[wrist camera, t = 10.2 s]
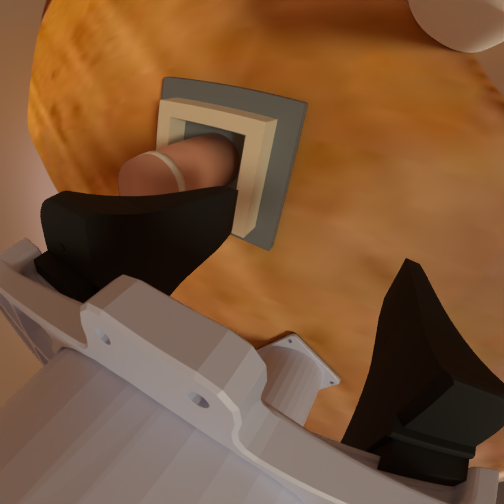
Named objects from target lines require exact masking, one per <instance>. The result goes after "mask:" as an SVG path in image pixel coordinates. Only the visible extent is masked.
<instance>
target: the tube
mask: <svg viewBox="0 0 504 504" xmlns="http://www.w3.org/2000/svg"><path fill="white" fill-rule="evenodd" d="M238 170H239V155H238V152H237V149H236V147H235V146H234V144H233V143H232V142H231V141H230V140H229V139H228V138H227V137H226V136H224V135H222V134H219V133H215V132H211V133H206V134H203V135H199V136H196V137H193V138H190V139H186V140H183V141H180V142H177V143H174V144H171V145H168V146H165V147H162V148H159V149H156V150H153V151H148V152H145V153H142V154H140V155H138V156H136V157H134V158H131V159H129V160H127V161H126V162H125V163H124V164H123V165H122V167H121V169H120V171H119V175H118V189H119V194H120V196H147V195H160V194H168V193H175V192H182V191H188V190H194V189H200V188H207V187H214V186H225V185H227V184H229V183H230V182H232V181H233V180H234V178H235V177H236V175H237V173H238Z"/></svg>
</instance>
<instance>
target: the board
mask: <svg viewBox="0 0 504 504" xmlns="http://www.w3.org/2000/svg"><path fill="white" fill-rule="evenodd" d="M307 106H308V103H306V102H302V101H299V100H295V99H291V98H287V97H283V96H279V95H275V94H270V93H266V92H262V91H257V90H252V89H247V88H242V87H237V86H231V85H226V84H220V83H214V82H207V81H200V80H193V79H185V78H177V77H164V81H163V90H162V100H160V104H159V115H158V128H157V143H156V149H159V148H162V147H165V146H168V145H171V144H174V143H177V142H180V141H183V140H186V139H190V138H193V137H196V136H199V135H203V134H206V133H211V132H215V133H219V134H222V135H224V136H226V137H227V138H228V139H229V140H230V141H231V142H232V143H233V144H234V146H235V147H236V149H237V152H238V155H239V170H238V173H237V175H236V177H235V178H234V180H233V181H232V182H230V183H229V184H227V185H225V186H228V187H231V188H233V189H236V190H239V191H238V197H237V203H236V209H235V215H234V221H233V228H232V232H231V234H230V235H233V236H235V237H237V238H240V239H242V240H245V241H247V242H249V243H252V244H254V245H256V246H259V247H261V248H263V249H266V250H268V251H269V250H270V249H271V248H272V247H273V244H274V240H275V236H276V232H277V228H278V224H279V220H280V216H281V212H282V208H283V204H284V201H285V197H286V192H287V188H288V184H289V180H290V176H291V172H292V168H293V164H294V160H295V156H296V152H297V148H298V144H299V139H300V135H301V131H302V127H303V123H304V118H305V114H306V110H307Z"/></svg>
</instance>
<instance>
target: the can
mask: <svg viewBox="0 0 504 504" xmlns="http://www.w3.org/2000/svg"><path fill="white" fill-rule="evenodd" d="M408 3H409V7H410V10H411V12H412V14H413V16H414V18H415V19H416V21H417V23H418V24H419V25H420V27H421V28H422V29H423V30H424V31H425V32H426V33H427V34H428V35H430V36H431V37H432V38H434V39H435V40H436V41H438V42H440V43H441V44H443V45H445V46H447V47H449V48H451V49H454V50H457V51H461V52H469V53H472V52H480V51H483V50H486V49H488V48H491V47H493V46H495V45H497V44H499V43H501V42H503V41H504V0H408Z"/></svg>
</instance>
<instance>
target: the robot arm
mask: <svg viewBox="0 0 504 504" xmlns="http://www.w3.org/2000/svg"><path fill="white" fill-rule="evenodd" d="M238 191H239V190H236V189H233V188H231V187H228V186H214V187H207V188H200V189H194V190H188V191H182V192H175V193H168V194H160V195H147V196H104V195H93V194H85V193H78V192H71V191H62V192H60V193H58V194H56V195H54V196H52V197H50V198H48V199H46V200H45V201H44V202H43V204H42V207H41V216H40V217H41V224H42V228H43V232H44V237H45V241H46V245H47V249H48V251H46V252H44V253H43V254H42V253H41V251H40V250H39V248H38V247H37V246H35V245H34V244H33V243H32V242H31V241H30V240H29V239H27V238H25V239H23V240H21V241H20V242H18V243H16V244H15V245H13V246H12V247H10V248H8V249H7V250H5V251H4V252H2V253H1V254H0V310H1V312H2V314H3V315H4V316H5V318H6V319H7V320H8V322H9V323H10V324H11V326H12V327H13V328H14V329H15V331H16V332H17V333H18V335H19V336H20V337H21V339H22V340H23V341H24V342H25V344H26V345H27V346H28V348H29V349H30V350H31V351H32V353H33V354H34V355H35V356H36V358H37V359H38V360H39V361H40V362H41V363H42V365H43V366H44V367H43V368H41V369H40V370H39V371H38V372H37V373H36V374H35V375H34V376H33V377H32V378H30V379H29V380H28V381H27V382H26V383H25V384H24V385H23V386H22V387H21V388H20V389H19V390H18V391H17V392H16V393H14V395H12V396H11V397H10V398H9V399H8V400H7V401H6V402H5V403H4V404H3V405H2V406H1V407H0V504H495V503H496V496H497V487H498V477H499V471H498V470H495V469H489V468H483V467H471V468H468V465H469V459H472V458H474V456H475V451H476V446H477V445H479V444H480V443H482V442H483V441H485V440H486V439H488V438H489V437H491V436H492V435H494V434H495V433H496V432H497V431H499V430H500V429H501V428H502V427H503V426H504V383H503V382H502V381H501V380H500V379H499V378H498V377H497V376H496V375H494V374H493V373H492V372H491V371H490V370H489V369H488V367H487V366H486V365H485V364H484V363H483V362H482V361H481V360H480V359H479V358H478V356H477V355H476V354H475V353H474V352H473V350H472V349H471V348H470V347H469V345H468V344H467V343H466V342H465V340H464V339H463V338H462V336H461V335H460V333H459V332H458V330H457V329H456V327H455V326H454V324H453V323H452V322H451V320H450V318H449V317H448V315H447V313H446V312H445V310H444V308H443V306H442V305H441V303H440V301H439V299H438V297H437V295H436V294H435V292H434V290H433V288H432V286H431V284H430V282H429V280H428V278H427V276H426V274H425V272H424V270H423V269H422V267H421V266H420V264H418V263H416V262H414V261H412V260H409V259H407V258H406V259H405V261H404V263H403V265H402V266H401V268H400V270H399V272H398V274H397V276H396V278H395V279H394V281H393V283H392V285H391V287H390V289H389V290H388V292H387V294H386V296H385V297H384V301H383V305H382V308H381V312H380V315H379V320H378V326H377V332H376V339H375V344H374V350H373V356H372V361H371V366H370V370H369V373H368V376H367V379H366V382H365V385H364V388H363V391H362V394H361V396H360V399H359V402H358V404H357V407H356V409H355V412H354V414H353V417H352V419H351V421H350V423H349V426H348V428H347V430H346V432H345V434H344V437H343V439H342V441H341V443H339V442H337V441H334V440H331V439H329V438H326V437H323V436H321V435H318V434H316V433H313V432H311V431H309V430H308V429H306V428H304V427H303V426H304V423H305V421H306V419H307V417H308V414H309V412H310V410H311V407H312V405H313V403H314V400H315V398H316V396H317V393H318V391H319V390H320V389H323V388H327V387H330V386H333V385H337V384H339V383H340V378H339V377H338V376H337V375H336V374H335V373H334V372H333V371H332V370H331V369H330V368H329V367H328V366H327V365H326V364H325V363H324V362H323V361H322V360H321V359H320V358H319V357H318V356H317V355H316V354H315V353H314V352H313V351H312V350H311V349H310V348H309V347H308V346H307V345H306V344H305V343H304V342H303V341H302V340H301V339H300V337H299V336H298V335H296V334H293V333H292V334H289V335H287V336H285V337H283V338H281V339H279V340H277V341H275V342H273V343H270V344H268V345H266V346H264V347H262V348H259V349H257V350H255V348H254V347H253V345H252V344H251V343H249V342H248V341H247V340H245V339H244V338H242V337H241V336H240V335H238V334H237V333H235V332H234V331H233V330H231V329H229V328H227V327H225V326H223V325H222V324H220V323H218V322H216V321H214V320H212V319H210V318H208V317H206V316H204V315H203V314H201V313H199V312H197V311H195V310H193V309H191V308H190V307H188V306H186V305H184V304H182V303H180V302H179V301H177V300H175V299H173V298H171V297H170V295H171V294H172V293H173V291H174V290H175V289H176V288H177V287H178V286H179V284H180V283H181V282H182V281H183V280H184V279H185V278H186V277H187V276H188V275H190V274H191V273H192V272H193V271H194V270H195V269H196V268H197V267H198V266H200V265H201V264H202V263H203V262H204V261H205V260H206V259H207V258H208V257H210V256H211V255H212V254H213V253H214V252H215V251H216V250H217V249H218V248H219V247H220V246H221V245H222V244H223V242H224V241H225V240H226V239H227V237H228V236H229V235H230V234H231V232H232V228H233V221H234V215H235V209H236V203H237V197H238ZM289 339H290V340H289Z"/></svg>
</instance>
